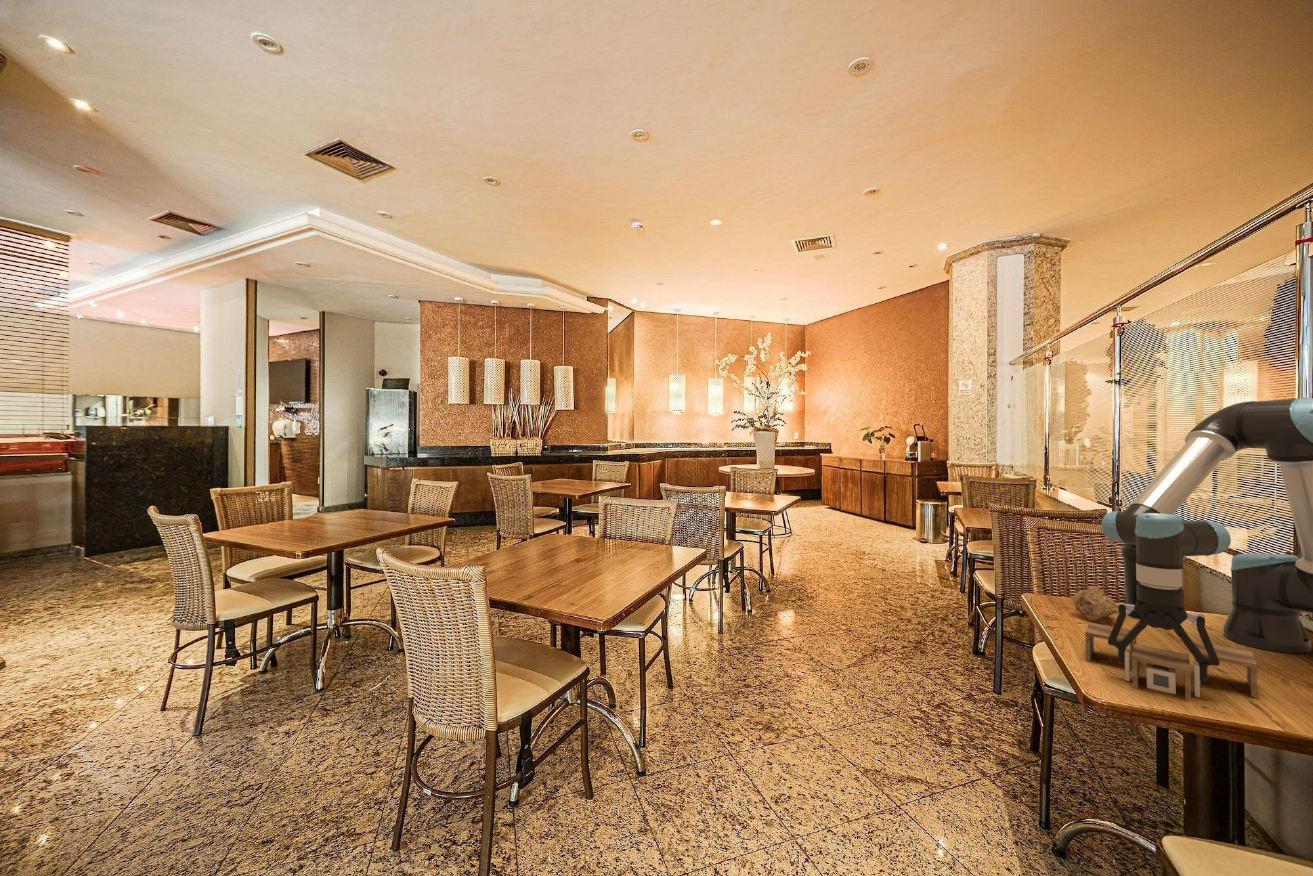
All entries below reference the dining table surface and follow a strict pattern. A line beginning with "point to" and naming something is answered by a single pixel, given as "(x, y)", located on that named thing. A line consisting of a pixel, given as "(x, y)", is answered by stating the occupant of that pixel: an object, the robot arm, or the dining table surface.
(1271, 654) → the dining table surface
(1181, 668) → the cover
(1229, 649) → the cover
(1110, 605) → the rock
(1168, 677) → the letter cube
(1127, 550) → the water bottle
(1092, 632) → the cover
